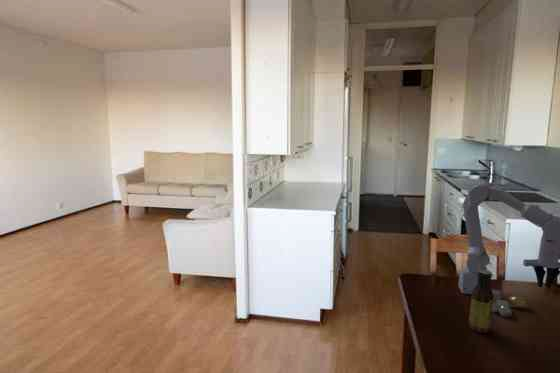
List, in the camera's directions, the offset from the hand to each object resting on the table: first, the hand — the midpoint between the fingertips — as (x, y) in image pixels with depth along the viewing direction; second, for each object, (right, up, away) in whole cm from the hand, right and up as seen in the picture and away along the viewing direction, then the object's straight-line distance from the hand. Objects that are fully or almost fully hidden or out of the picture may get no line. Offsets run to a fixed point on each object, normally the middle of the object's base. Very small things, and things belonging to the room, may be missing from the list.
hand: (543, 286), depth 137 cm
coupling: (-7, -9, +3) cm, 12 cm away
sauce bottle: (-29, -11, -11) cm, 33 cm away
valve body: (-15, -9, +4) cm, 18 cm away
